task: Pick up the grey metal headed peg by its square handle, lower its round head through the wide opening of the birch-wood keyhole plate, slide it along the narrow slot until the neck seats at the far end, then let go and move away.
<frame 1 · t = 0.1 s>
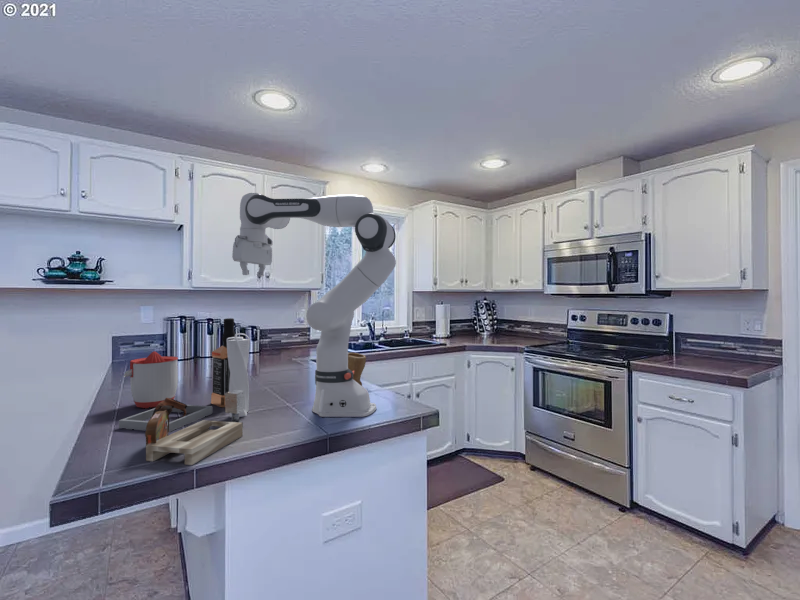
hand: (253, 275, 145), 48 cm above the worktop, tool pointing down, fingers open, 8 cm apart
citrus juicer: (152, 405, 147), on the worktop
skyscraper: (239, 415, 133), on the worktop
tin: (156, 447, 104), on the worktop, touching keyhole plate
peg: (235, 427, 120), on the worktop
whiskey bottle: (229, 403, 149), on the worktop
grey flat square frame: (168, 420, 128), on the worktop
keyhole plate: (198, 447, 105), on the worktop
tan flared vase: (352, 386, 174), on the worktop
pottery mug: (167, 421, 128), resting in grey flat square frame
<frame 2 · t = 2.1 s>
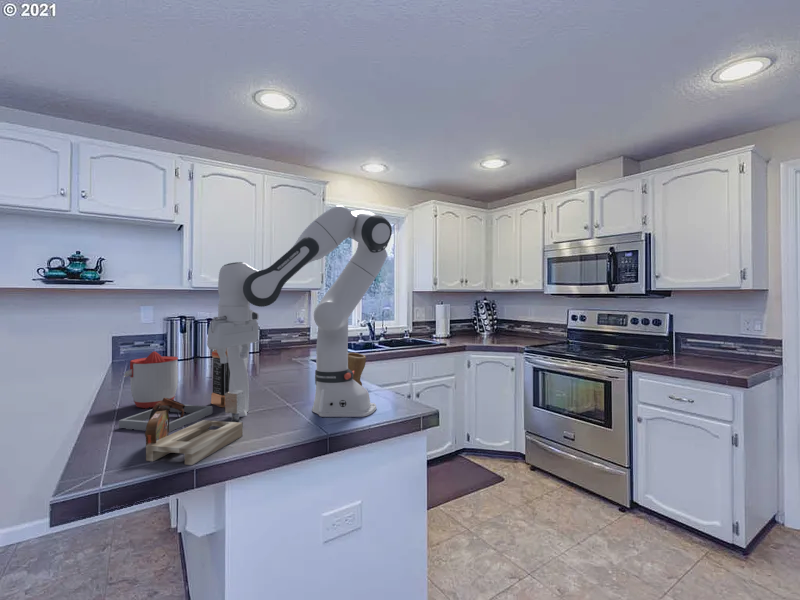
hand: (234, 360, 120), 21 cm above the worktop, tool pointing down, fingers open, 8 cm apart
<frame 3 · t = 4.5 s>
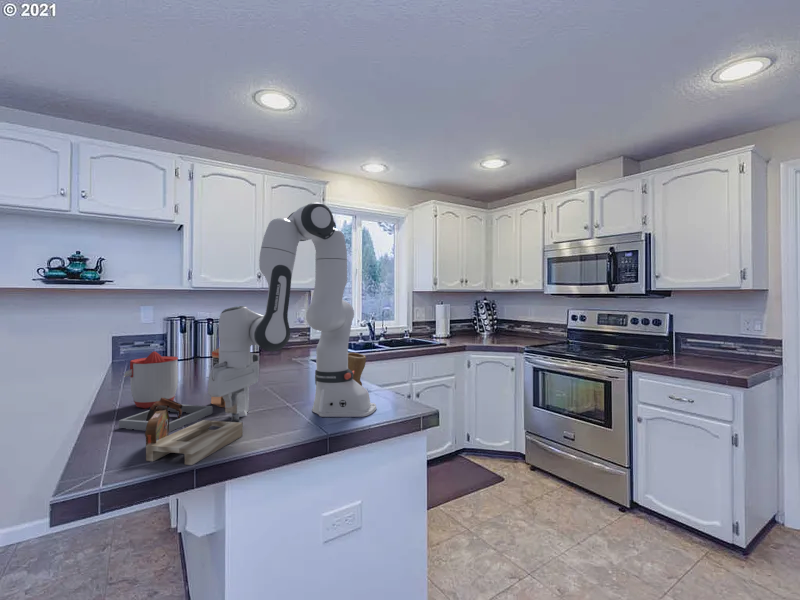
hand: (235, 404, 120), 7 cm above the worktop, tool pointing down, fingers closed on peg, 4 cm apart
peg: (235, 427, 120), on the worktop, touching gripper
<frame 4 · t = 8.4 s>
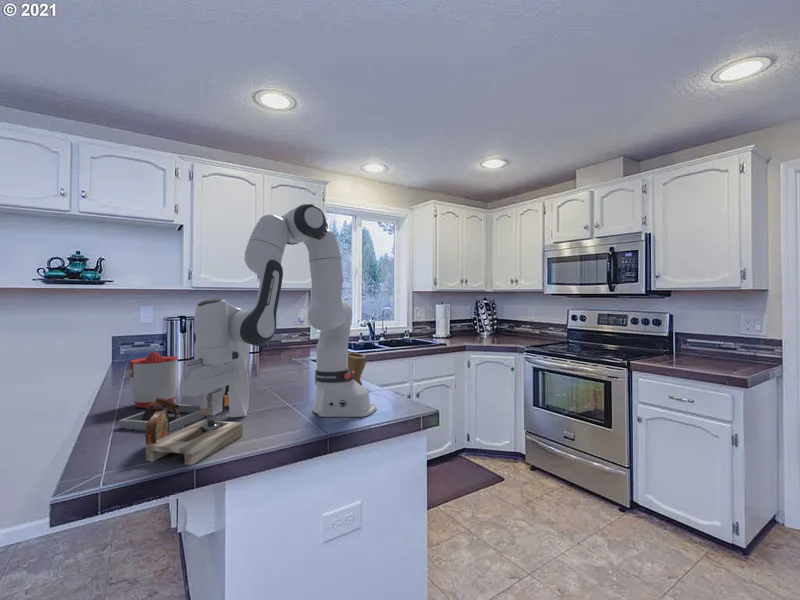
hand: (211, 405, 111), 10 cm above the worktop, tool pointing down, fingers closed on peg, 4 cm apart
peg: (211, 430, 111), point 2 cm above the worktop, touching gripper
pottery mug: (159, 421, 128), resting in grey flat square frame
everything else where it was.
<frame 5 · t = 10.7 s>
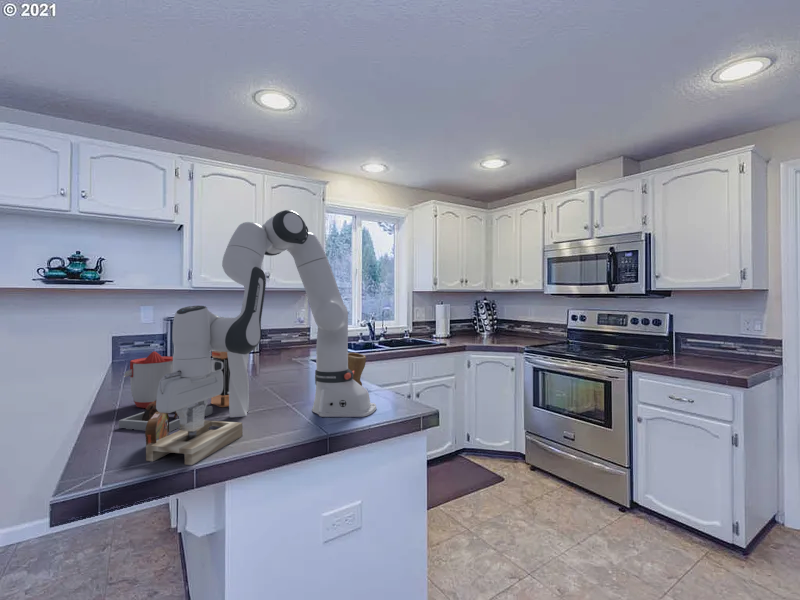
hand: (192, 420, 103), 8 cm above the worktop, tool pointing down, fingers closed on peg, 4 cm apart
peg: (192, 447, 103), point 1 cm above the worktop, touching gripper
everything else where it was.
when the fingers open (7 cm above the worktop, at t = 12.6 s): peg stays where it is, resting in keyhole plate.
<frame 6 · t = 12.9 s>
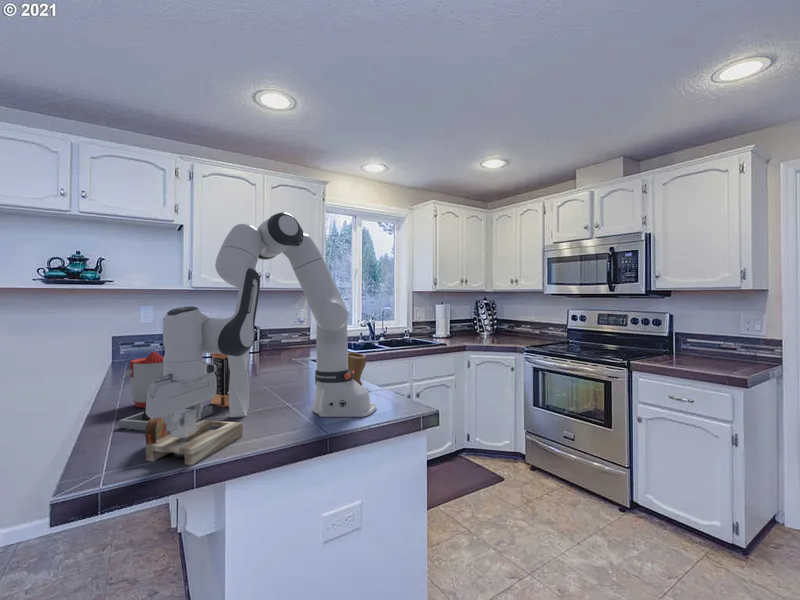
hand: (184, 425, 100), 7 cm above the worktop, tool pointing down, fingers open, 7 cm apart
peg: (184, 454, 100), resting in keyhole plate
everything else where it was.
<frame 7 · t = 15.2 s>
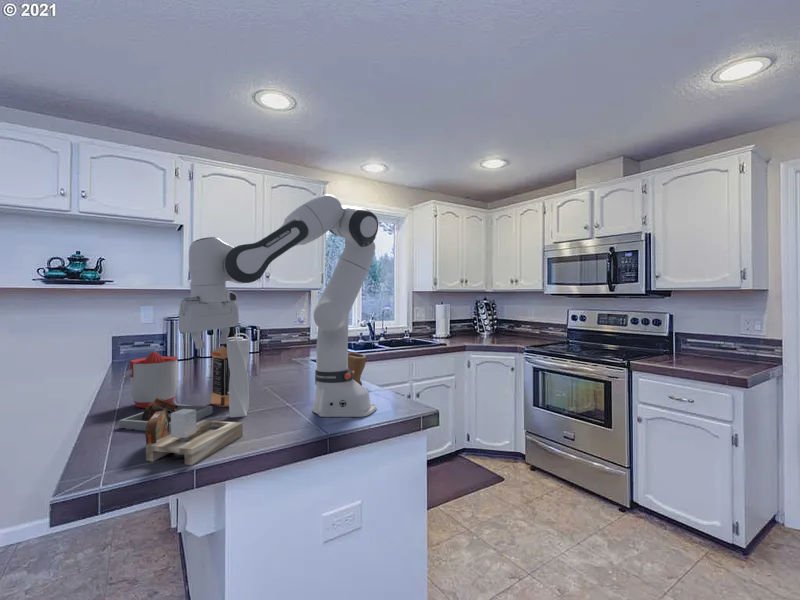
hand: (212, 346, 109), 26 cm above the worktop, tool pointing down, fingers open, 8 cm apart
nothing on the worktop moved.
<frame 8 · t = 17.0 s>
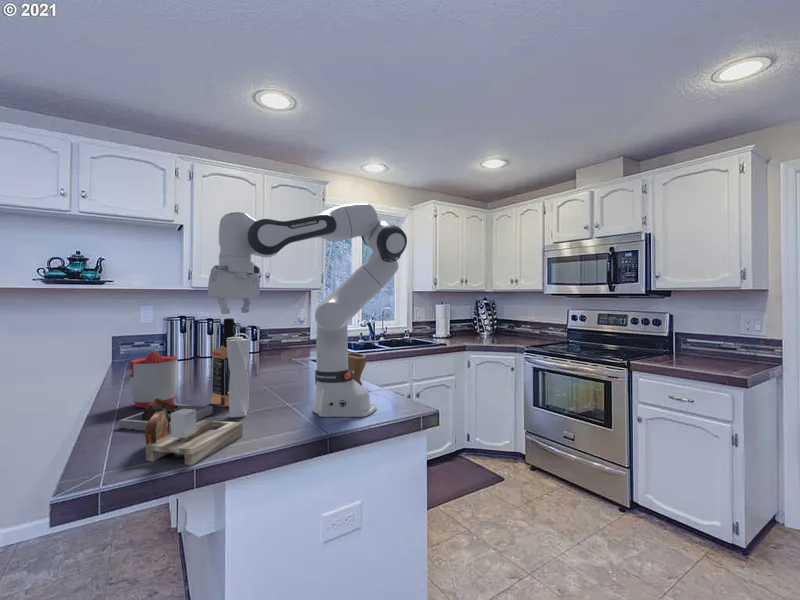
hand: (235, 313, 118), 35 cm above the worktop, tool pointing down, fingers open, 8 cm apart
nothing on the worktop moved.
at the end: peg 0.1 cm from the target spot on the keyhole plate, point 0.0 cm above the keyhole plate's base; peg tilted 0°; the gripper is holding nothing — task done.
